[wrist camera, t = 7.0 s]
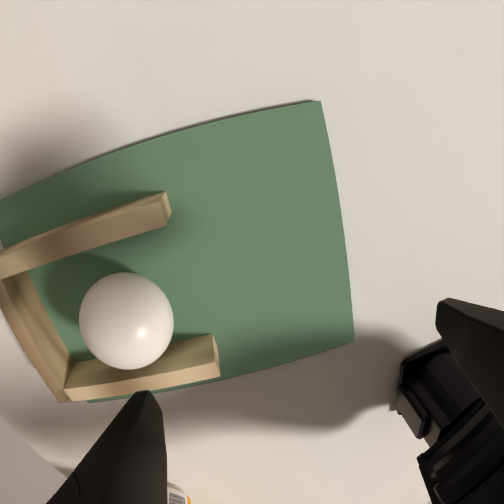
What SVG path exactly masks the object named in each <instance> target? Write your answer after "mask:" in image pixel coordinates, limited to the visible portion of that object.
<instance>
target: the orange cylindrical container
mask: <svg viewBox="0 0 504 504" xmlns="http://www.w3.org/2000/svg"><path fill="white" fill-rule="evenodd" d="M167 502H168V504H191V501H190V498H189V497H188V496H187V495H186V494H185V493H184V491H183V490H182V489H181V488H179V487H178V486H175V485H173V484H170V483H167Z"/></svg>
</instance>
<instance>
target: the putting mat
mask: <svg viewBox="0 0 504 504" xmlns="http://www.w3.org/2000/svg"><path fill="white" fill-rule="evenodd" d="M165 191H166V193H167V197H168V200H169V204H170V207H171V210H172V212H171V215H170V217H169V220H168V222H167V225H166V226H164V227H161V228H158V229H154V230H151V231H147V232H144V233H141V234H137V235H134V236H131V237H127V238H124V239H121V240H118V241H114V242H111V243H108V244H105V245H102V246H98V247H95V248H92V249H89V250H86V251H83V252H80V253H77V254H73V255H70V256H67V257H64V258H61V259H58V260H55V261H52V262H49V263H47V264H44V265H41V266H38V267H35V268H32V269H29V270H27V271H28V273H29V276H30V278H31V280H32V282H33V285H34V287H35V289H36V291H37V293H38V295H39V297H40V299H41V301H42V304H43V306H44V308H45V310H46V311H47V313H48V315H49V317H50V319H51V321H52V323H53V325H54V327H55V329H56V330H57V332H58V334H59V336H60V338H61V339H62V341H63V343H64V345H65V346H66V348H67V350H68V352H69V353H70V355H71V357H72V358H73V360H74V362H75V363H76V362H82V361H87V360H93V359H98V358H97V357H96V356H94V355H93V354H92V352H91V351H90V350H89V348H88V347H87V346H86V344H85V342H84V340H83V338H82V335H81V331H80V326H79V312H80V307H81V303H82V300H83V298H84V297H85V295H86V293H87V291H88V290H89V289H90V288H91V287H92V286H93V284H95V283H96V282H97V281H98V280H100V279H101V278H103V277H105V276H107V275H110V274H114V273H119V272H129V273H135V274H139V275H142V276H144V277H146V278H148V279H149V280H151V281H153V282H154V283H155V284H156V285H157V286H158V287H159V288H160V289H161V290H162V291H163V292H164V294H165V295H166V297H167V299H168V301H169V303H170V305H171V308H172V312H173V319H174V327H173V334H172V338H171V340H170V343H175V342H179V341H183V340H188V339H192V338H196V337H200V336H204V335H208V334H212V333H213V336H214V339H215V341H216V344H217V347H218V356H219V367H220V377H215V378H211V379H207V380H202V381H197V382H193V383H188V384H183V385H178V386H173V387H168V388H163V389H157V390H151V391H150V392H151V393H152V394H154V393H160V392H166V391H171V390H176V389H181V388H186V387H191V386H196V385H201V384H205V383H210V382H214V381H218V380H223V379H227V378H231V377H235V376H239V375H243V374H247V373H251V372H255V371H259V370H262V369H266V368H270V367H273V366H277V365H280V364H284V363H287V362H291V361H294V360H297V359H301V358H304V357H307V356H310V355H314V354H317V353H320V352H323V351H326V350H329V349H332V348H335V347H338V346H341V345H344V344H347V343H350V342H353V341H354V328H353V314H352V302H351V291H350V281H349V271H348V262H347V254H346V245H345V238H344V230H343V223H342V216H341V209H340V202H339V196H338V189H337V183H336V177H335V171H334V166H333V160H332V155H331V149H330V144H329V139H328V134H327V129H326V124H325V119H324V114H323V110H322V105H321V101H314V102H308V103H302V104H296V105H290V106H285V107H279V108H274V109H269V110H264V111H259V112H254V113H249V114H245V115H240V116H236V117H232V118H227V119H223V120H219V121H215V122H211V123H207V124H203V125H200V126H196V127H192V128H189V129H185V130H182V131H178V132H175V133H171V134H168V135H164V136H161V137H158V138H155V139H152V140H148V141H145V142H142V143H139V144H136V145H133V146H130V147H127V148H124V149H121V150H119V151H116V152H113V153H110V154H108V155H105V156H102V157H99V158H97V159H94V160H92V161H89V162H86V163H84V164H81V165H79V166H76V167H74V168H71V169H69V170H67V171H64V172H62V173H59V174H57V175H55V176H52V177H50V178H48V179H46V180H43V181H41V182H39V183H37V184H35V185H32V186H30V187H28V188H26V189H24V190H22V191H20V192H18V193H16V194H14V195H12V196H10V197H8V198H6V199H4V200H2V201H0V238H1V241H2V244H3V246H4V249H5V248H7V247H10V246H12V245H14V244H17V243H19V242H22V241H24V240H27V239H29V238H32V237H34V236H37V235H39V234H42V233H44V232H47V231H50V230H52V229H55V228H58V227H60V226H63V225H66V224H68V223H71V222H74V221H77V220H79V219H82V218H85V217H88V216H91V215H94V214H96V213H99V212H102V211H105V210H108V209H111V208H114V207H117V206H120V205H123V204H126V203H129V202H133V201H136V200H139V199H142V198H145V197H148V196H152V195H155V194H158V193H162V192H165ZM170 343H169V344H170ZM132 395H133V394H127V395H121V396H114V397H107V398H99V399H91V400H87V401H88V402H89V403H93V402H101V401H109V400H116V399H123V398H130V397H131V396H132Z"/></svg>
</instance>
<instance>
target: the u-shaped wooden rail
mask: <svg viewBox="0 0 504 504" xmlns="http://www.w3.org/2000/svg"><path fill="white" fill-rule="evenodd" d="M171 212H172V210H171V207H170V204H169V200H168V197H167V193H166V191H165V192H162V193H158V194H155V195H152V196H148V197H145V198H142V199H139V200H136V201H133V202H129V203H126V204H123V205H120V206H117V207H114V208H111V209H108V210H105V211H102V212H99V213H96V214H94V215H91V216H88V217H85V218H82V219H79V220H77V221H74V222H71V223H68V224H66V225H63V226H60V227H58V228H55V229H52V230H50V231H47V232H44V233H42V234H39V235H37V236H34V237H32V238H29V239H27V240H24V241H22V242H19V243H17V244H14V245H12V246H10V247H7V248H5V249H3V250H2V251H0V308H1V310H2V312H3V314H4V316H5V317H6V319H7V321H8V323H9V325H10V327H11V328H12V330H13V332H14V334H15V336H16V337H17V339H18V341H19V342H20V344H21V346H22V348H23V349H24V351H25V352H26V354H27V356H28V357H29V359H30V361H31V362H32V364H33V365H34V367H35V368H36V370H37V371H38V373H39V374H40V376H41V377H42V379H43V380H44V382H45V383H46V385H47V386H48V387H49V389H50V390H51V392H52V393H53V394H54V396H55V397H56V399H57V400H58V401H59V403H63V402H73V401H82V400H91V399H99V398H107V397H114V396H121V395H127V394H134V393H135V392H136V391H141V390H149V391H151V390H157V389H163V388H168V387H173V386H178V385H183V384H188V383H193V382H197V381H202V380H207V379H211V378H215V377H220V367H219V356H218V347H217V344H216V341H215V339H214V336H213V333H212V334H208V335H204V336H200V337H196V338H192V339H188V340H183V341H179V342H175V343H170V344H169V345H168V347H167V348H166V350H165V351H164V353H163V354H162V355H161V356H160V357H159V358H158V359H157V360H155V361H154V362H153V363H151V364H149V365H147V366H145V367H142V368H138V369H131V370H126V369H119V368H115V367H112V366H109V365H107V364H105V363H104V362H102V361H100V360H99V359H93V360H87V361H82V362H76V363H75V362H74V360H73V358H72V357H71V355H70V353H69V352H68V350H67V348H66V346H65V345H64V343H63V341H62V339H61V338H60V336H59V334H58V332H57V330H56V329H55V327H54V325H53V323H52V321H51V319H50V317H49V315H48V313H47V311H46V310H45V308H44V306H43V304H42V301H41V299H40V297H39V295H38V293H37V291H36V289H35V287H34V285H33V282H32V280H31V278H30V276H29V273H28V271H27V270H29V269H32V268H35V267H38V266H41V265H44V264H47V263H49V262H52V261H55V260H58V259H61V258H64V257H67V256H70V255H73V254H77V253H80V252H83V251H86V250H89V249H92V248H95V247H98V246H102V245H105V244H108V243H111V242H114V241H118V240H121V239H124V238H127V237H131V236H134V235H137V234H141V233H144V232H147V231H151V230H154V229H158V228H161V227H164V226H166V225H167V222H168V220H169V217H170V215H171Z"/></svg>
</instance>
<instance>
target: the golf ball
mask: <svg viewBox="0 0 504 504" xmlns="http://www.w3.org/2000/svg"><path fill="white" fill-rule="evenodd" d="M79 326H80V331H81V335H82V338H83V340H84V342H85V344H86V346H87V347H88V348H89V350H90V351H91V352H92V354H93V355H94V356H96V357H97V358H98V359H99V360H100V361H102V362H104V363H105V364H107V365H109V366H112V367H115V368H119V369H126V370H131V369H138V368H142V367H145V366H147V365H149V364H151V363H153V362H154V361H155V360H157V359H158V358H159V357H160V356H161V355H162V354H163V353H164V351H165V350H166V348H167V347H168V345H169V343H170V340H171V338H172V334H173V327H174V319H173V312H172V308H171V305H170V303H169V301H168V299H167V297H166V295H165V294H164V292H163V291H162V290H161V289H160V288H159V287H158V286H157V285H156V284H155V283H154V282H153V281H151V280H149V279H148V278H146V277H144V276H142V275H139V274H135V273H129V272H119V273H114V274H110V275H107V276H105V277H103V278H101V279H100V280H98V281H97V282H96V283H95V284H93V286H92V287H91V288H90V289H89V290H88V291H87V293H86V295H85V297H84V298H83V300H82V303H81V307H80V312H79Z"/></svg>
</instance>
